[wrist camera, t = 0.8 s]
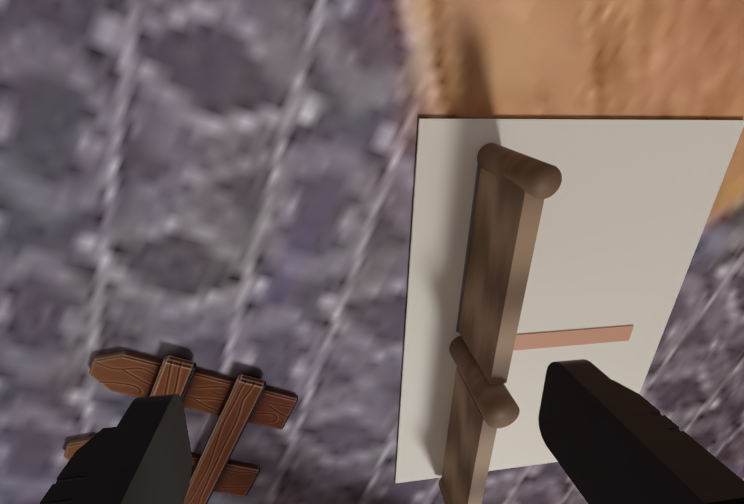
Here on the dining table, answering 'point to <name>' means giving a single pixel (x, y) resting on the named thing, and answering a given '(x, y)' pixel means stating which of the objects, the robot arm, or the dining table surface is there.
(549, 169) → the fence fixed
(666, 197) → the card
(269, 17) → the dining table surface
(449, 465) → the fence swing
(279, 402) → the decorative fence
